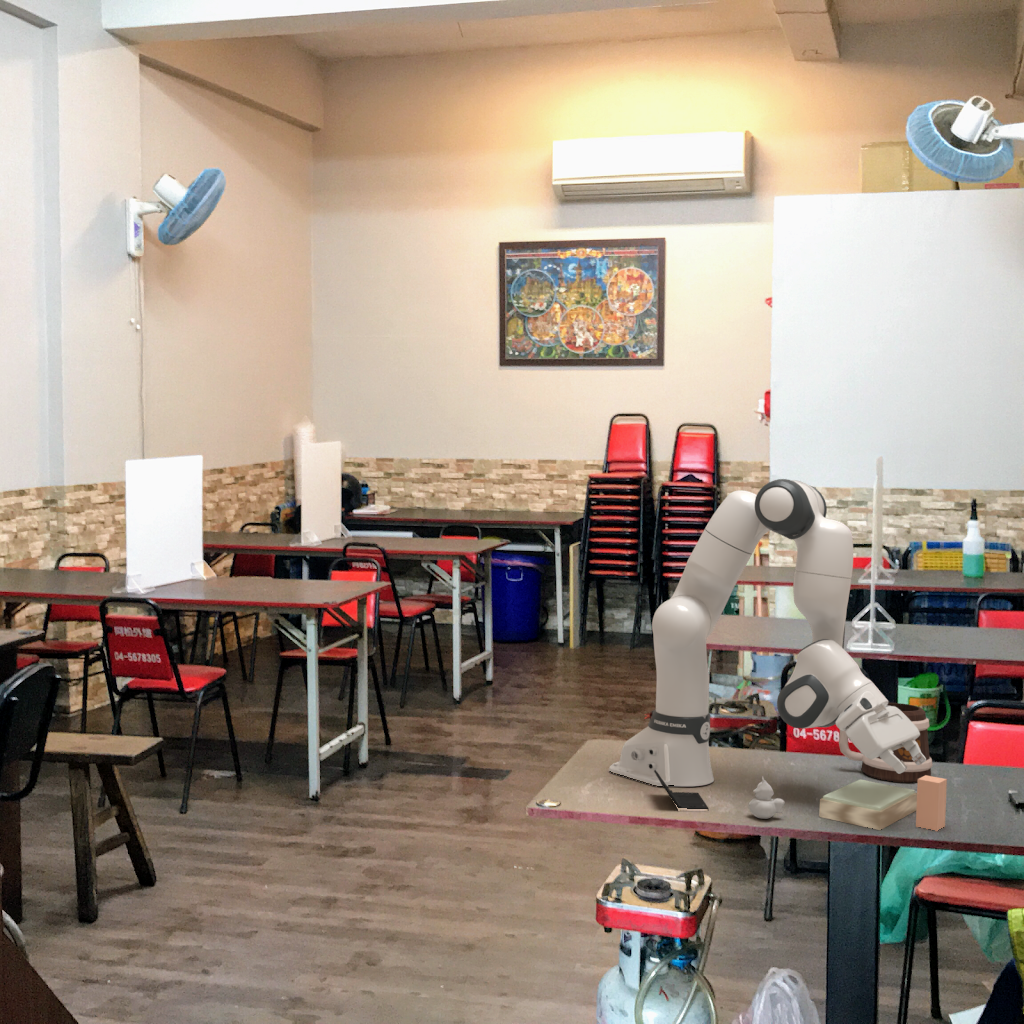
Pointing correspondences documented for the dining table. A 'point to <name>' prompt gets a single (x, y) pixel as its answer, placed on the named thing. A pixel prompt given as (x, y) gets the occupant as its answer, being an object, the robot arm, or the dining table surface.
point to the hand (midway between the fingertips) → (913, 767)
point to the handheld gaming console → (684, 797)
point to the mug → (896, 751)
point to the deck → (868, 804)
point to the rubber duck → (765, 802)
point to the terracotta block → (931, 802)
